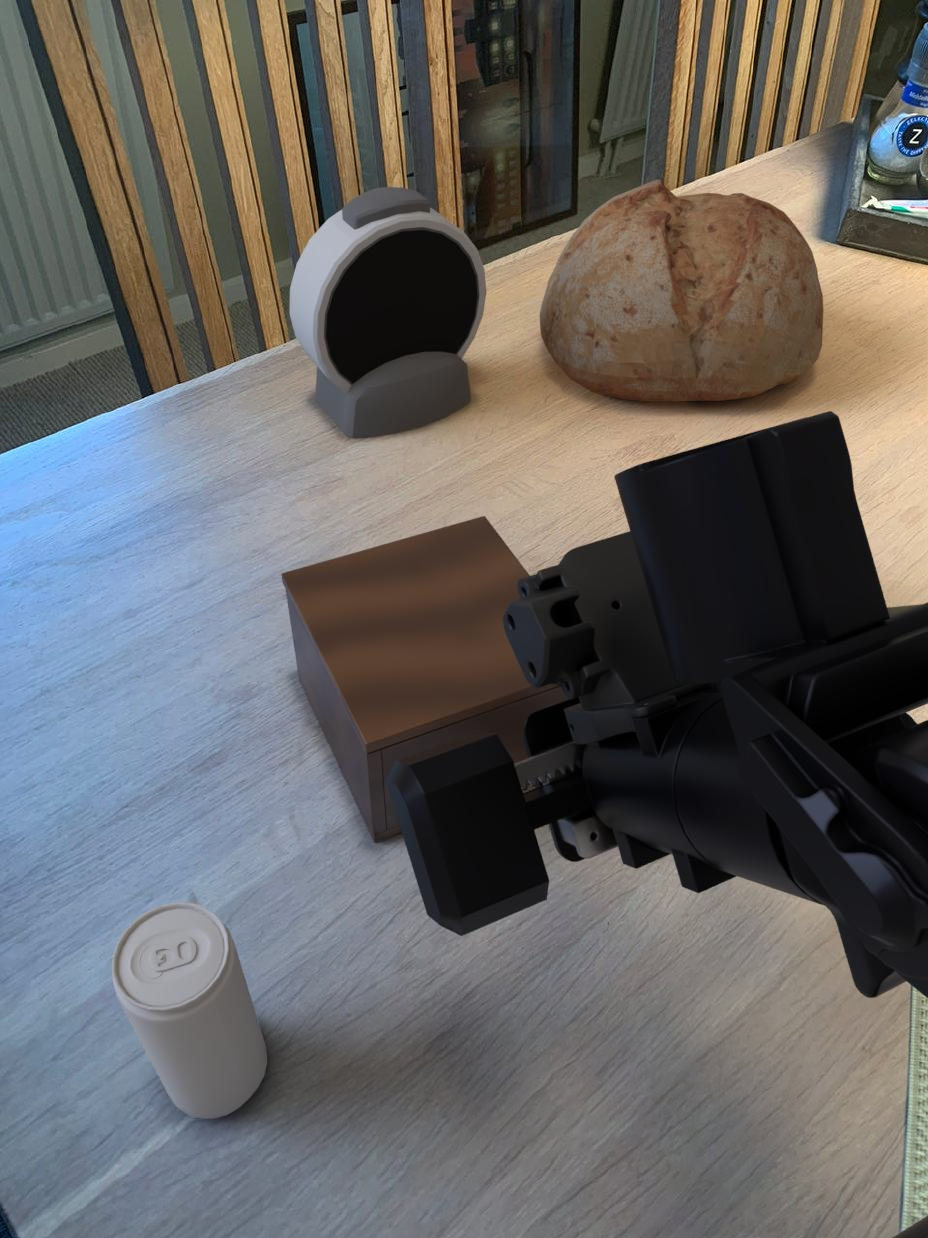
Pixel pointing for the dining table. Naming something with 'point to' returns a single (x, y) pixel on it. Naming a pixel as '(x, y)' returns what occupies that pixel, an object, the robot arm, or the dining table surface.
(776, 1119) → the dining table surface
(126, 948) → the beverage can
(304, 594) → the lid
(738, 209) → the bread
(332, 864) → the dining table surface
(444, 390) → the alarm clock
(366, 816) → the box
